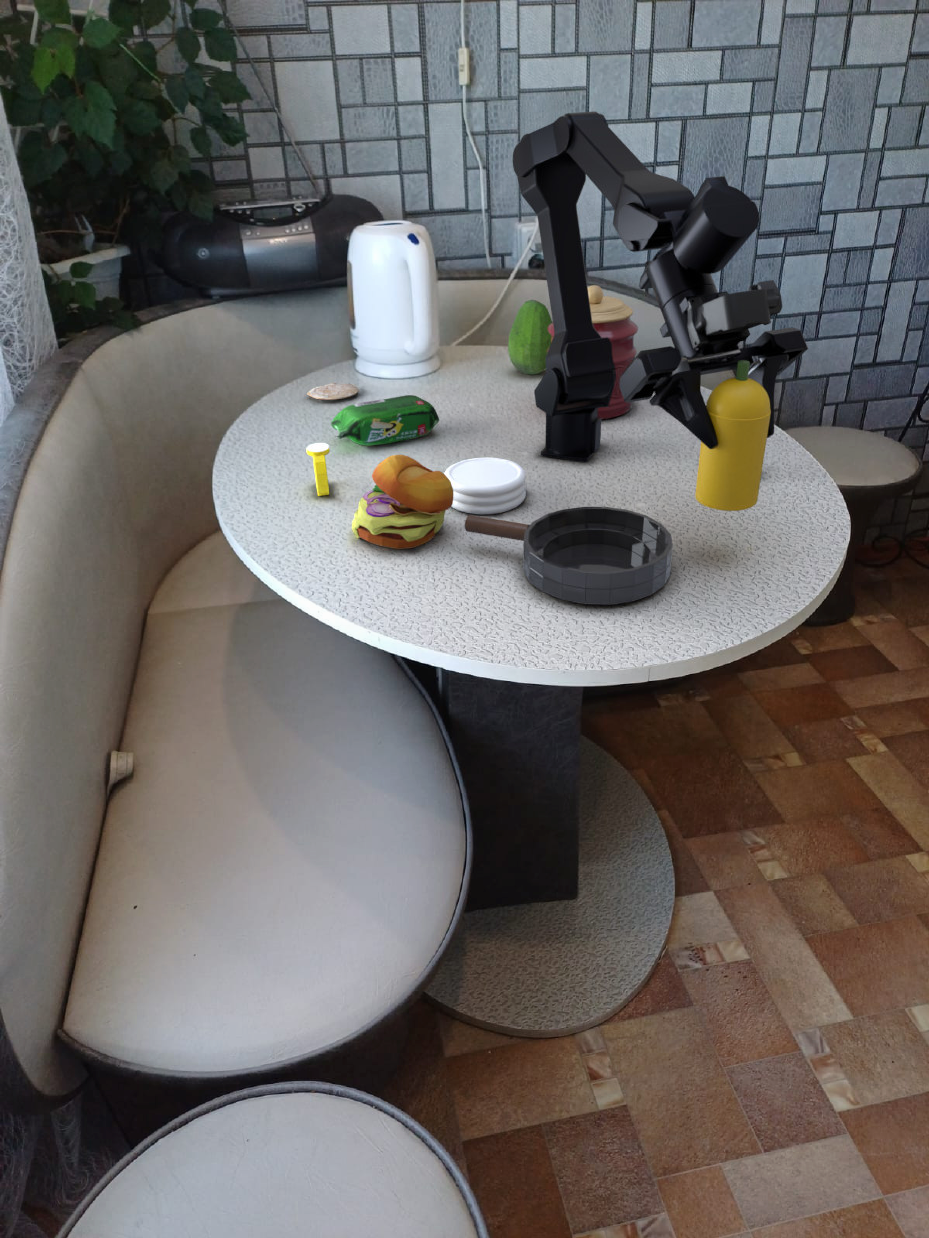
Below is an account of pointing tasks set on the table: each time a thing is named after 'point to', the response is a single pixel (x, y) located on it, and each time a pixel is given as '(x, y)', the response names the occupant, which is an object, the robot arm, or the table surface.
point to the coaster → (486, 485)
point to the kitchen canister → (612, 341)
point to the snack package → (386, 420)
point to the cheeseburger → (403, 504)
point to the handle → (495, 527)
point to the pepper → (734, 444)
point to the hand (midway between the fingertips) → (742, 441)
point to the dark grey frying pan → (597, 555)
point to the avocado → (530, 338)
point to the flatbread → (333, 391)
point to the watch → (320, 466)
